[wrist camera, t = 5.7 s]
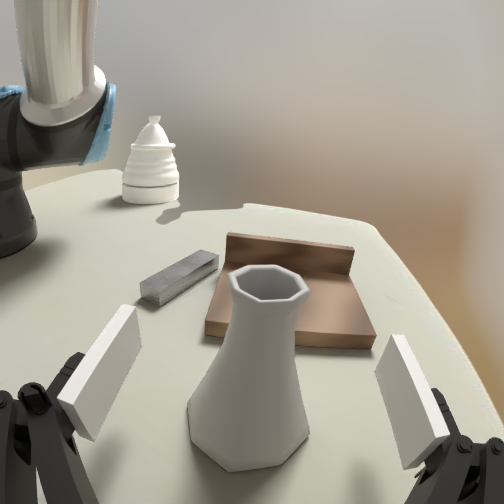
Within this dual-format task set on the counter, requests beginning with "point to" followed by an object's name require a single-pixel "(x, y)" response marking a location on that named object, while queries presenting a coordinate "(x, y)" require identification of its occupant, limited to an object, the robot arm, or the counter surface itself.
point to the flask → (254, 375)
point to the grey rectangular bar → (178, 277)
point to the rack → (317, 279)
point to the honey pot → (151, 168)
